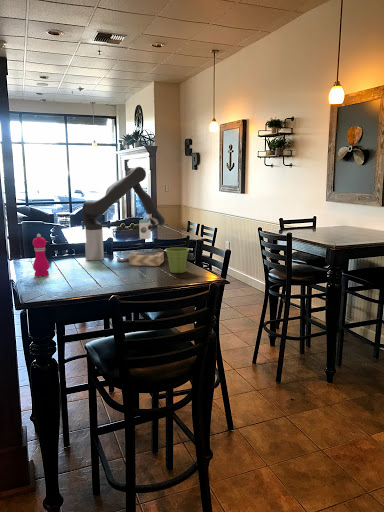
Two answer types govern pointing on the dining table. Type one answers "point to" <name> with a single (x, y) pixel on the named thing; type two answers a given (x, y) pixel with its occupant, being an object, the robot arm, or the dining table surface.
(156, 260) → the beige chevron box
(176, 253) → the plant pot
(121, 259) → the bolt
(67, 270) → the dining table surface
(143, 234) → the housing
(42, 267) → the pepper mill
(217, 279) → the dining table surface
